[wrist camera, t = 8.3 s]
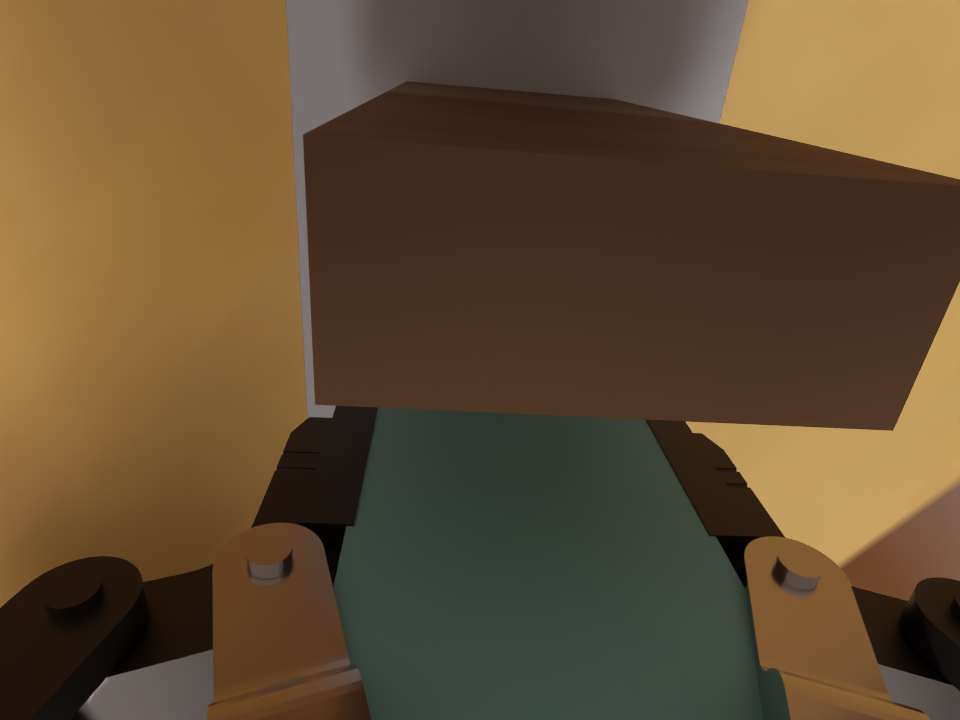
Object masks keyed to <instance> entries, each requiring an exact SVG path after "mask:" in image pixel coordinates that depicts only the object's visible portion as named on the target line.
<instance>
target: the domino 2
mask: <svg viewBox="0 0 960 720" xmlns="http://www.w3.org/2000/svg"><path fill="white" fill-rule="evenodd" d="M333 590H334V594H335V599H336V603H337V608H338V612H339V616H340V621H341V625H342V630H343V634H344V639H345V643H346V647H347V652H348V656H349V660H350V663H351V665H352V664H356V665H357V667H358V669H359V672H360V675H361V679H362V683H363V686H364V691H365V695H366V699H367V703H368V707H369V711H370V716H371V720H763V714H762V707H761V700H760V693H759V685H758V678H757V671H756V664H755V657H754V649H753V642H752V635H751V628H750V620H749V613H748V606H747V599H746V592H745V588H744V586H743V584H742V582H741V581H740V579H739V577H738V575H737V573H736V572H735V570H734V568H733V566H732V565H731V563H730V561H729V559H728V557H727V556H726V554H725V552H724V550H723V548H722V547H721V545H720V543H719V541H718V539H717V538H716V537H715V536H709V534H708V532H707V531H706V529H705V527H704V525H703V523H702V521H701V520H700V518H699V516H698V514H697V512H696V510H695V509H694V507H693V505H692V503H691V501H690V499H689V498H688V496H687V494H686V492H685V490H684V488H683V487H682V485H681V483H680V481H679V479H678V477H677V476H676V474H675V472H674V470H673V468H672V466H671V465H670V463H669V461H668V459H667V457H666V455H665V454H664V452H663V450H662V448H661V446H660V444H659V443H658V441H657V439H656V437H655V435H654V433H653V432H652V430H651V428H650V426H649V424H648V422H647V421H646V419H624V418H602V417H580V416H557V415H535V414H512V413H490V412H468V411H445V410H423V409H400V408H378V407H377V412H376V417H375V422H374V427H373V432H372V437H371V442H370V447H369V452H368V457H367V462H366V467H365V472H364V477H363V482H362V487H361V492H360V497H359V502H358V507H357V512H356V517H355V522H354V526H346V530H345V535H344V540H343V544H342V549H341V553H340V558H339V563H338V567H337V572H336V577H335V581H334V586H333Z"/></svg>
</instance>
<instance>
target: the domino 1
mask: <svg viewBox="0 0 960 720" xmlns="http://www.w3.org/2000/svg"><path fill="white" fill-rule="evenodd" d="M303 148H304V171H305V193H306V215H307V238H308V260H309V282H310V305H311V327H312V349H313V372H314V394H315V405H333V406H356V407H378V408H400V409H423V410H445V411H468V412H490V413H512V414H535V415H557V416H580V417H602V418H624V419H647V420H669V421H691V422H714V423H736V424H759V425H781V426H803V427H826V428H848V429H871V430H893V429H894V427H895V425H896V423H897V420H898V418H899V416H900V414H901V412H902V409H903V407H904V405H905V403H906V400H907V398H908V396H909V394H910V391H911V389H912V387H913V385H914V382H915V380H916V378H917V376H918V373H919V371H920V369H921V367H922V365H923V362H924V360H925V358H926V356H927V353H928V351H929V349H930V347H931V344H932V342H933V340H934V338H935V335H936V333H937V331H938V329H939V326H940V324H941V322H942V320H943V317H944V315H945V313H946V311H947V309H948V306H949V304H950V302H951V300H952V297H953V295H954V293H955V291H956V288H957V286H958V284H959V282H960V180H959V179H955V178H951V177H946V176H942V175H938V174H933V173H929V172H925V171H921V170H916V169H912V168H908V167H903V166H899V165H895V164H891V163H886V162H882V161H878V160H873V159H869V158H865V157H861V156H856V155H852V154H848V153H843V152H839V151H835V150H831V149H826V148H822V147H818V146H813V145H809V144H805V143H801V142H796V141H792V140H788V139H783V138H779V137H775V136H771V135H766V134H762V133H758V132H753V131H749V130H745V129H741V128H736V127H732V126H728V125H723V124H719V123H715V122H711V121H706V120H702V119H698V118H693V117H689V116H685V115H681V114H676V113H672V112H668V111H663V110H659V109H655V108H651V107H646V106H642V105H638V104H634V103H629V102H625V101H621V100H616V99H608V98H596V97H584V96H573V95H561V94H550V93H538V92H527V91H515V90H503V89H492V88H480V87H469V86H457V85H445V84H434V83H422V82H411V81H406V82H404V83H402V84H400V85H398V86H397V87H395V88H393V89H391V90H389V91H387V92H385V93H383V94H381V95H379V96H377V97H375V98H373V99H371V100H369V101H367V102H365V103H363V104H361V105H359V106H357V107H355V108H354V109H352V110H350V111H348V112H346V113H344V114H342V115H340V116H338V117H336V118H334V119H332V120H330V121H328V122H326V123H324V124H322V125H320V126H318V127H316V128H314V129H312V130H311V131H309V132H307V133H305V134H303Z"/></svg>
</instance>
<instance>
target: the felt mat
mask: <svg viewBox="0 0 960 720" xmlns="http://www.w3.org/2000/svg"><path fill="white" fill-rule="evenodd" d="M747 4H748V0H286V11H287V30H288V49H289V69H290V88H291V108H292V127H293V146H294V166H295V185H296V205H297V224H298V243H299V263H300V282H301V302H302V321H303V341H304V360H305V379H306V399H307V418H309V417H324V418H332V417H333V413H334V410H335V407H336V406H333V405H315V394H314V372H313V349H312V327H311V305H310V282H309V260H308V238H307V215H306V193H305V171H304V148H303V134H305V133H307V132H309V131H311V130H312V129H314V128H316V127H318V126H320V125H322V124H324V123H326V122H328V121H330V120H332V119H334V118H336V117H338V116H340V115H342V114H344V113H346V112H348V111H350V110H352V109H354V108H355V107H357V106H359V105H361V104H363V103H365V102H367V101H369V100H371V99H373V98H375V97H377V96H379V95H381V94H383V93H385V92H387V91H389V90H391V89H393V88H395V87H397V86H398V85H400V84H402V83H404V82H406V81H411V82H422V83H434V84H445V85H457V86H469V87H480V88H492V89H503V90H515V91H527V92H538V93H550V94H561V95H573V96H584V97H596V98H608V99H616V100H621V101H625V102H629V103H634V104H638V105H642V106H646V107H651V108H655V109H659V110H663V111H668V112H672V113H676V114H681V115H685V116H689V117H693V118H698V119H702V120H706V121H711V122H715V123H719V122H720V118H721V114H722V110H723V106H724V101H725V97H726V93H727V89H728V84H729V80H730V76H731V72H732V67H733V63H734V59H735V55H736V51H737V46H738V42H739V38H740V34H741V29H742V25H743V21H744V17H745V13H746V8H747Z"/></svg>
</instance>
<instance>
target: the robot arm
mask: <svg viewBox="0 0 960 720" xmlns="http://www.w3.org/2000/svg"><path fill="white" fill-rule="evenodd" d="M376 412H377V407H356V406H336V407H335V410H334V413H333V417H332V418H324V417H309V418H308V419H307V420H305V421H304V422H303V423H302V424H301V425H299V426H298V427H297V428H296V429H295V430H293V431H292V432H291V434H290V436H289V439H288V441H287V444H286V446H285V448H284V451H283V455H282V456H281V458H280V460H279V463H278V465H277V471H275V472H274V475H273V477H272V480H271V482H270V484H269V487H268V489H267V492H266V494H265V496H264V499H263V501H262V503H261V506H260V508H259V511H258V513H257V515H256V518H255V520H254V523H253V525H252V527H251V528H250V529H248V530H246V531H244V532H242V533H240V534H238V535H236V536H235V537H233V538H232V539H231V540H230V541H228V542H227V543H226V544H225V545H224V546H223V547H222V548H221V550H220V551H219V553H218V554H217V556H216V558H215V560H214V563H213V564H212V565H210V566H207V567H204V568H202V569H199V570H196V571H192V572H188V573H184V574H179V575H175V576H170V577H166V578H161V579H156V580H152V581H147V582H143V581H142V577H141V574H140V572H139V570H138V569H137V568H136V567H135V566H134V565H133V564H132V563H130V562H128V561H127V560H124V559H121V558H116V557H107V556H99V557H89V558H84V559H79V560H75V561H72V562H69V563H66V564H63V565H61V566H58V567H56V568H54V569H52V570H50V571H48V572H46V573H44V574H42V575H41V576H39V577H38V578H36V579H34V580H33V581H32V582H31V583H29V584H28V585H27V586H25V587H24V588H23V589H22V590H21V591H19V592H18V593H17V594H16V595H15V596H14V597H12V598H11V599H10V600H9V601H8V602H7V603H5V604H4V605H3V606H2V607H1V608H0V720H371V716H370V711H369V707H368V703H367V699H366V695H365V691H364V686H363V683H362V679H361V675H360V672H359V669H358V667H357V665H356V664H352V665H351V663H350V660H349V656H348V652H347V647H346V643H345V639H344V634H343V630H342V625H341V621H340V616H339V612H338V608H337V603H336V599H335V594H334V590H333V586H334V581H335V577H336V572H337V567H338V563H339V558H340V553H341V549H342V544H343V540H344V535H345V530H346V526H354V522H355V517H356V512H357V507H358V502H359V497H360V492H361V487H362V482H363V477H364V472H365V467H366V462H367V457H368V452H369V447H370V442H371V437H372V432H373V427H374V422H375V417H376ZM646 421H647V422H648V424H649V426H650V428H651V430H652V432H653V433H654V435H655V437H656V439H657V441H658V443H659V444H660V446H661V448H662V450H663V452H664V454H665V455H666V457H667V459H668V461H669V463H670V465H671V466H672V468H673V470H674V472H675V474H676V476H677V477H678V479H679V481H680V483H681V485H682V487H683V488H684V490H685V492H686V494H687V496H688V498H689V499H690V501H691V503H692V505H693V507H694V509H695V510H696V512H697V514H698V516H699V518H700V520H701V521H702V523H703V525H704V527H705V529H706V531H707V532H708V534H709V536H715V537H716V538H717V539H718V541H719V543H720V545H721V547H722V548H723V550H724V552H725V554H726V556H727V557H728V559H729V561H730V563H731V565H732V566H733V568H734V570H735V572H736V573H737V575H738V577H739V579H740V581H741V582H742V584H743V586H744V588H745V592H746V599H747V606H748V613H749V620H750V628H751V635H752V642H753V649H754V657H755V664H756V671H757V678H758V685H759V693H760V700H761V707H762V714H763V720H960V581H957V580H952V579H947V578H927V579H925V580H922V581H921V582H919V583H918V584H917V586H916V588H915V589H914V591H913V593H912V595H911V597H910V599H909V600H908V601H905V600H901V599H897V598H894V597H890V596H886V595H882V594H878V593H875V592H871V591H867V590H863V589H859V588H856V587H853V586H851V585H850V582H849V581H848V578H847V577H846V575H845V574H844V572H843V571H842V570H841V569H840V568H839V566H838V565H837V564H835V563H834V562H833V561H832V560H831V559H830V558H828V557H827V556H826V555H824V554H823V553H821V552H819V551H818V550H816V549H814V548H812V547H810V546H808V545H806V544H804V543H801V542H799V541H796V540H792V539H789V538H785V537H784V535H783V534H782V533H781V531H780V530H779V528H778V527H777V525H776V524H775V523H774V521H773V520H772V518H771V517H770V515H769V514H768V513H767V511H766V510H765V508H764V507H763V505H762V504H761V503H760V501H759V500H758V498H757V497H756V495H755V494H754V493H753V491H752V490H751V488H747V483H746V481H745V480H744V478H743V477H742V475H741V474H740V473H739V472H737V471H736V469H737V468H736V467H735V465H734V464H733V463H732V461H731V460H730V458H729V457H728V455H727V454H726V453H725V451H724V450H723V449H722V448H720V447H719V446H718V445H716V444H715V443H714V442H712V441H711V440H710V439H708V438H707V437H706V436H704V435H703V434H700V433H692V431H691V430H690V428H689V427H688V425H687V424H686V422H685V421H669V420H647V419H646Z"/></svg>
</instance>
